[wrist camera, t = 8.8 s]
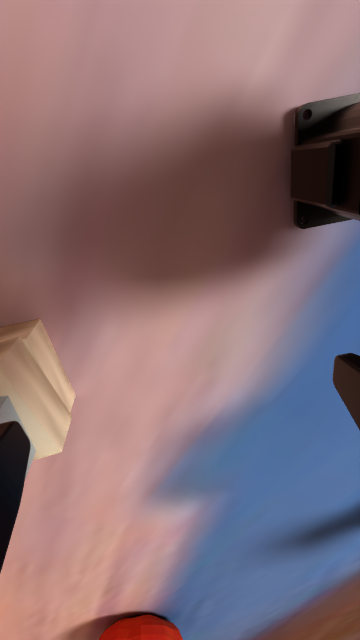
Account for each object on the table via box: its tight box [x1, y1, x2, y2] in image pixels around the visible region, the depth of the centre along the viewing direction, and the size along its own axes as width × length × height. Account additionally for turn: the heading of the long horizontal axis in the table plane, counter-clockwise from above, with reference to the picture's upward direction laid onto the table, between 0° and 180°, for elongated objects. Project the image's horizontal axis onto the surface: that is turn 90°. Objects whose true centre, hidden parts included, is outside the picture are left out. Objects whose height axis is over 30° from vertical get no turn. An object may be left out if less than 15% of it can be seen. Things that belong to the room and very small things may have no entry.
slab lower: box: [0, 319, 75, 412], centre depth 21 cm, size 7×7×3 cm
